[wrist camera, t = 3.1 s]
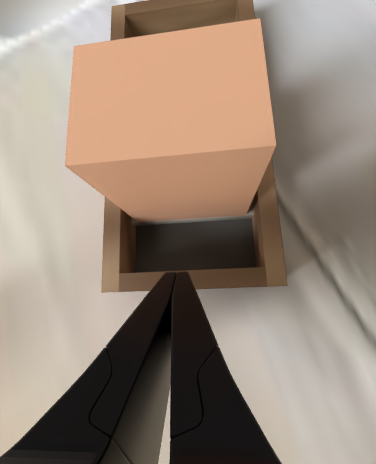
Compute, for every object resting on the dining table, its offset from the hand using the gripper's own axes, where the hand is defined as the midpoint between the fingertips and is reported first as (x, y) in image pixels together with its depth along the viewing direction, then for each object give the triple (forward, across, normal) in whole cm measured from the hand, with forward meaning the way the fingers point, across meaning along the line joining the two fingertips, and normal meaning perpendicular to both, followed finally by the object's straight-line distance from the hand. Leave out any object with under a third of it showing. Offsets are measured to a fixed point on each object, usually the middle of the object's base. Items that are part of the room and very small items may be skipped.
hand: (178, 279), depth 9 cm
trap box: (+12, 0, -2) cm, 12 cm away
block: (+9, 0, 0) cm, 9 cm away
